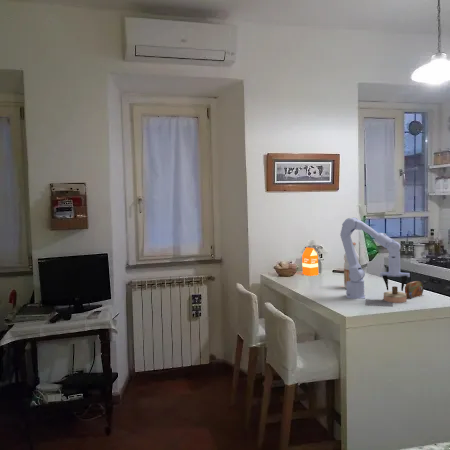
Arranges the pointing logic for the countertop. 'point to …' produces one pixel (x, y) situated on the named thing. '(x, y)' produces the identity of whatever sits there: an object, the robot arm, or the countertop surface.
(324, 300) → the countertop surface
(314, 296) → the countertop surface
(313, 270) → the orange juice
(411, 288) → the tin
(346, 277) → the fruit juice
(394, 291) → the lid
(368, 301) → the mat
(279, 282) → the countertop surface
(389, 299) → the bowl
